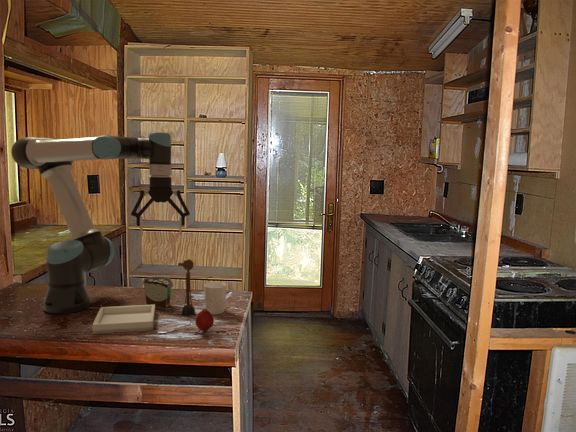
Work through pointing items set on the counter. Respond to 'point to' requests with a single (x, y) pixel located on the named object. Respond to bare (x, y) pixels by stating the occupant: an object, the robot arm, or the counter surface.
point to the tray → (124, 319)
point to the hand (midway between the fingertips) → (161, 234)
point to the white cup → (215, 297)
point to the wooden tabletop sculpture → (187, 288)
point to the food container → (158, 291)
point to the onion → (204, 320)
